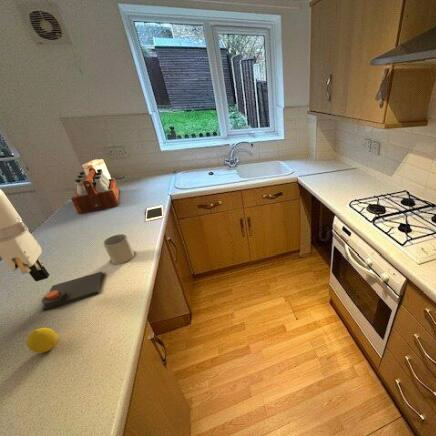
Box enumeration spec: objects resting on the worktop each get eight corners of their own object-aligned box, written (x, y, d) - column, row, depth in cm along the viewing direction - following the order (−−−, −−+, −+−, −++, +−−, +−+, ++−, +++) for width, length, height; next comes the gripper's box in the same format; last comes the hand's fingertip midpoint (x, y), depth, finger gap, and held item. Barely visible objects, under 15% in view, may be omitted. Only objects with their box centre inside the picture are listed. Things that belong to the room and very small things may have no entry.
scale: (44, 313, 79) (38, 305, 77) (55, 289, 89) (50, 282, 87) (99, 295, 85) (95, 288, 83) (103, 275, 95) (99, 268, 93)
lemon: (33, 362, 64) (15, 343, 61) (42, 344, 69) (26, 326, 65) (58, 353, 66) (43, 335, 62) (65, 337, 71) (52, 319, 67)
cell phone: (162, 206, 150) (162, 205, 149) (163, 218, 135) (163, 217, 135) (147, 209, 146) (146, 208, 146) (146, 222, 132) (145, 220, 132)
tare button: (46, 301, 79) (44, 298, 78) (49, 295, 82) (47, 292, 81) (58, 298, 80) (56, 294, 80) (60, 292, 83) (58, 289, 82)
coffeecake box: (104, 183, 193) (93, 159, 183) (113, 183, 193) (103, 159, 184) (92, 190, 179) (81, 164, 170) (102, 189, 180) (91, 164, 171)
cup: (107, 262, 102) (97, 243, 97) (125, 251, 108) (117, 233, 104) (121, 266, 99) (112, 247, 94) (139, 255, 106) (131, 236, 101)
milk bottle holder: (120, 190, 178) (109, 164, 169) (119, 207, 152) (107, 177, 142) (84, 196, 168) (72, 170, 159) (77, 215, 142) (61, 185, 133)
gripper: (1, 223, 73) (35, 269, 82) (-25, 247, 61) (18, 298, 70) (33, 216, 76) (63, 261, 85) (14, 238, 64) (50, 288, 73)
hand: (42, 278), depth 77 cm, fingers closed
